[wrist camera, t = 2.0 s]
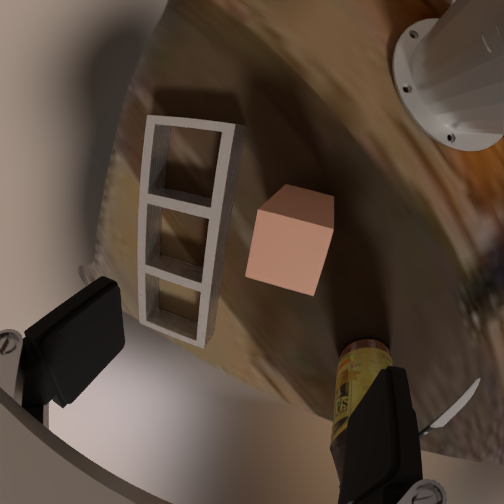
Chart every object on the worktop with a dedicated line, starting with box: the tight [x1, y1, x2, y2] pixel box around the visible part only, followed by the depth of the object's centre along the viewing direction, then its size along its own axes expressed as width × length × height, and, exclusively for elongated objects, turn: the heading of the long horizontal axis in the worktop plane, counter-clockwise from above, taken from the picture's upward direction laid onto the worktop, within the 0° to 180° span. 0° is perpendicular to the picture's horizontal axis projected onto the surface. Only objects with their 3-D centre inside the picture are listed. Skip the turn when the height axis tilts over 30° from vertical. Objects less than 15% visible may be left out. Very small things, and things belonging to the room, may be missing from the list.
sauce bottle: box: [330, 339, 393, 504], centre depth 21 cm, size 7×6×20 cm
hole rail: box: [138, 115, 246, 349], centre depth 29 cm, size 23×9×3 cm, turn 170°
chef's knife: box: [419, 378, 481, 439], centre depth 30 cm, size 19×1×3 cm
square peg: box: [245, 184, 334, 296], centre depth 22 cm, size 4×4×10 cm
